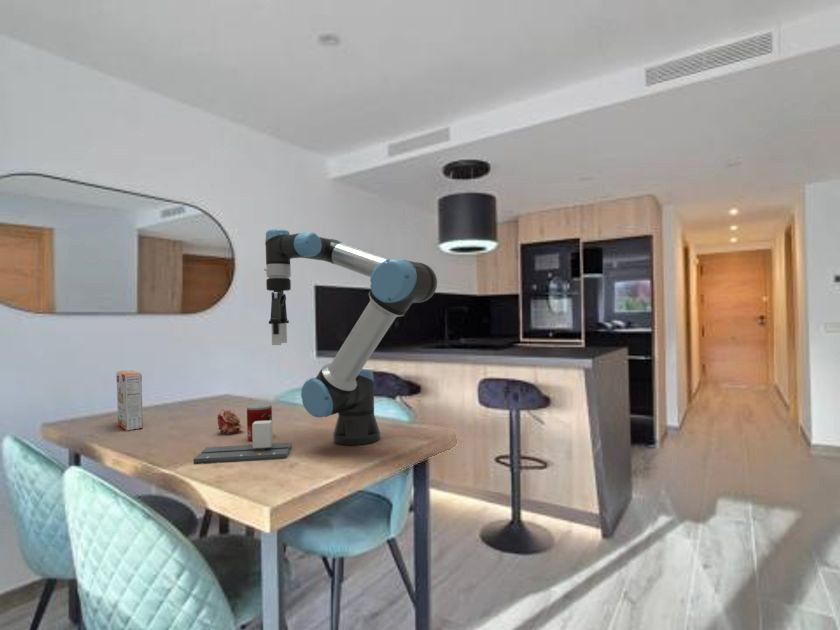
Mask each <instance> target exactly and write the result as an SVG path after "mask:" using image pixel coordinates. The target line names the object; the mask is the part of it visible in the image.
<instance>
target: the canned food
mask: <svg viewBox="0 0 840 630" xmlns="http://www.w3.org/2000/svg"><path fill="white" fill-rule="evenodd" d="M272 414H273V408H272V404H269V403H255V404H249V405H247V406H246V424H247V425H246V426H247V427H246V430H247V436H246V437H247V439H248V441H249V442H253V437H252V424H253V423H254V422H255V421H269V420H272V421H273V415H272Z"/></svg>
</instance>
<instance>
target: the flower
mask: <svg viewBox="0 0 840 630" xmlns="http://www.w3.org/2000/svg"><path fill="white" fill-rule="evenodd" d="M241 421H242V419H241V418H240V416H239V415H238V414H237V413H235V411H232V410H225V409H220V412H219V413H218V415H217V424H218V430H219V432H220V434H223V432H224V433H225V434H227V435H228V434H229V435H230V433H233V432H235V431H236V432H237V431H238V432H239V431H240V429H242V428H244V426H243V425H242V424H241Z"/></svg>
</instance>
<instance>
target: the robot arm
mask: <svg viewBox="0 0 840 630" xmlns="http://www.w3.org/2000/svg"><path fill="white" fill-rule="evenodd" d="M264 245H265V261H266V262H265V265H266V267H265V268H264V272H266V274H265V275H266V276H265V277H267V279H266V282H265V283H266V290H267V291H269V292H270V291H271V306H270V320H269V321H268V325H271V346H282V344H287V343H288V332H287V329H288V328H287V327H288V325H287V324H289V322H290V321H289V320H288V314H287V296H286V294H285V293H284V291H286V292H288V291H291V290H292V289H291V288H292V287H291V286H292V283H291V281H292V279H290V278H291V276H292V275H291V271H292V269H291V267H292V266H291V259H309V260H317V261H322V262H323V261H324V262H327V263H330V264H333V265H336V266H340V267H342V268H344V269H347V270H350V271H352V272H355V273H357V274H360V275H364V276H366V277H369V278H370V279H369V281H370V290H369V292H368V297H369V302H368V304H367V305H366V307H365V308H364V310H363V311H362V314H360V317H359V318H358V320H357V321H356V323H355V325H354V326H353V328H352V329H351V331H350V333H349V334H348V336H347V337H346V339H345V340H344V342H343V343H342V345H341V347H340V349H339V350H338V352H337V353H336V354H335V357H333V360H332V361H331V363H330V362H329V363H326V364H324V365H323V366H322V367H321V369H320V370H319V371H318V374H317V375H316V377H312V378H309V379H307V380H306V381H305V382H304V383H303V385H302V387H301V391H300V394H301V395H300V397H301V401H302V405H303V407H304V409H305V410H306V412H308V414H309V415H311V416H312V417H315V418H327V417H330V416H333V415H336V414H338V415H337V420H336V424H335V428H334V430H333V434H332V436H333V437H332V441H333V442H334V443H336V444H338V445H343V446H344V445H346V446H360V445H367V444H371V443H375V442H378V441H379V440H380V439H381V432H380V431H381V430H380V428H379V425H378V422H377V419H376V416H375V392H374V391H375V390H374V389H375V388H374V387H375V385H374V384H375V380H374V372H373V371H372V370H371V369H365V368H364V367H365V366H366V364H367V362H368V360H370V358H371V357H372V354H373V353H374V351H375V350H376V348H377V347H378V345H379V344H380V342H381V341H382V339H383V338H384V336H385V335H386V333H387V332H388V331H389V329H390V327H391V326H392V325H393V323H394V321H395V320H396V318H399V317H400V318H401V317H404V316H405V314H406V313H407V311H408V310H409V308H410V307H411V305H412V304H417V303H418V304H420V303H424V302H427V301H428V300H429V299H431V298H432V297H433V296H434V294H435V293H436V291H437V287H438V278H437V275H436V273H435V271H434V270H433V268H432V267H430V266H429V265H428V264H426V263H422V262H419V261H418V262H416V261H411V260H407V259H404V258H389V257H387V256H384V255H380V254H377V253H374V252H371V251H368V250H365V249H362V248H360V247H356V246H354V245H353V246H352V245H350V244H347V243H343V242H342V241H340V240H337V239H334V238H326V237H321V236H319V235H318V234H316V232H313V231H308V232H307V231H303V232H299V233H292V234H290V231H289V230H287V229H282V228H272V229H268V230H266V232H265V243H264ZM363 368H364V369H363Z"/></svg>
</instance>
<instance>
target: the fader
mask: <svg viewBox="0 0 840 630" xmlns="http://www.w3.org/2000/svg"><path fill="white" fill-rule="evenodd" d="M273 429H274V428H273V419H272V420H269V421H255V422H254V423H253V424H252V437H253V441H252V445H253V448H261V450H265V448H267V447H271V446H272V444H274V434H273V433H274V432H273Z"/></svg>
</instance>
